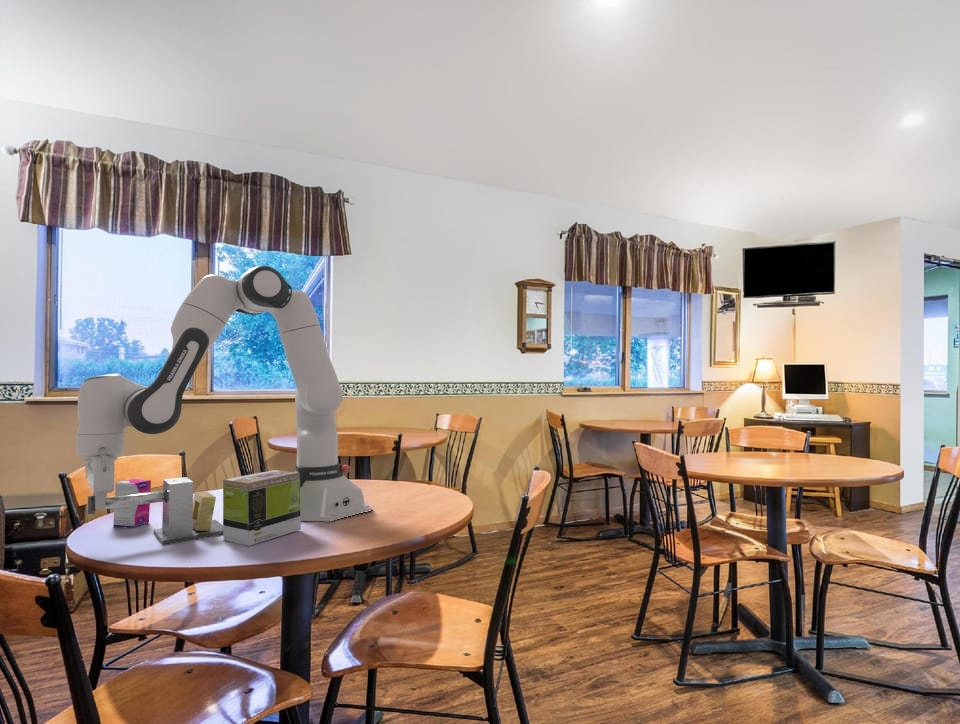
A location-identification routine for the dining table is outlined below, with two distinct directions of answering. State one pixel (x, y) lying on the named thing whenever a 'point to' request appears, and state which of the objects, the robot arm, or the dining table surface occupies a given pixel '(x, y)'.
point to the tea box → (261, 506)
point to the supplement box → (135, 513)
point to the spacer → (203, 511)
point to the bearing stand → (181, 514)
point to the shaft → (127, 500)
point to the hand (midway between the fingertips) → (99, 507)
